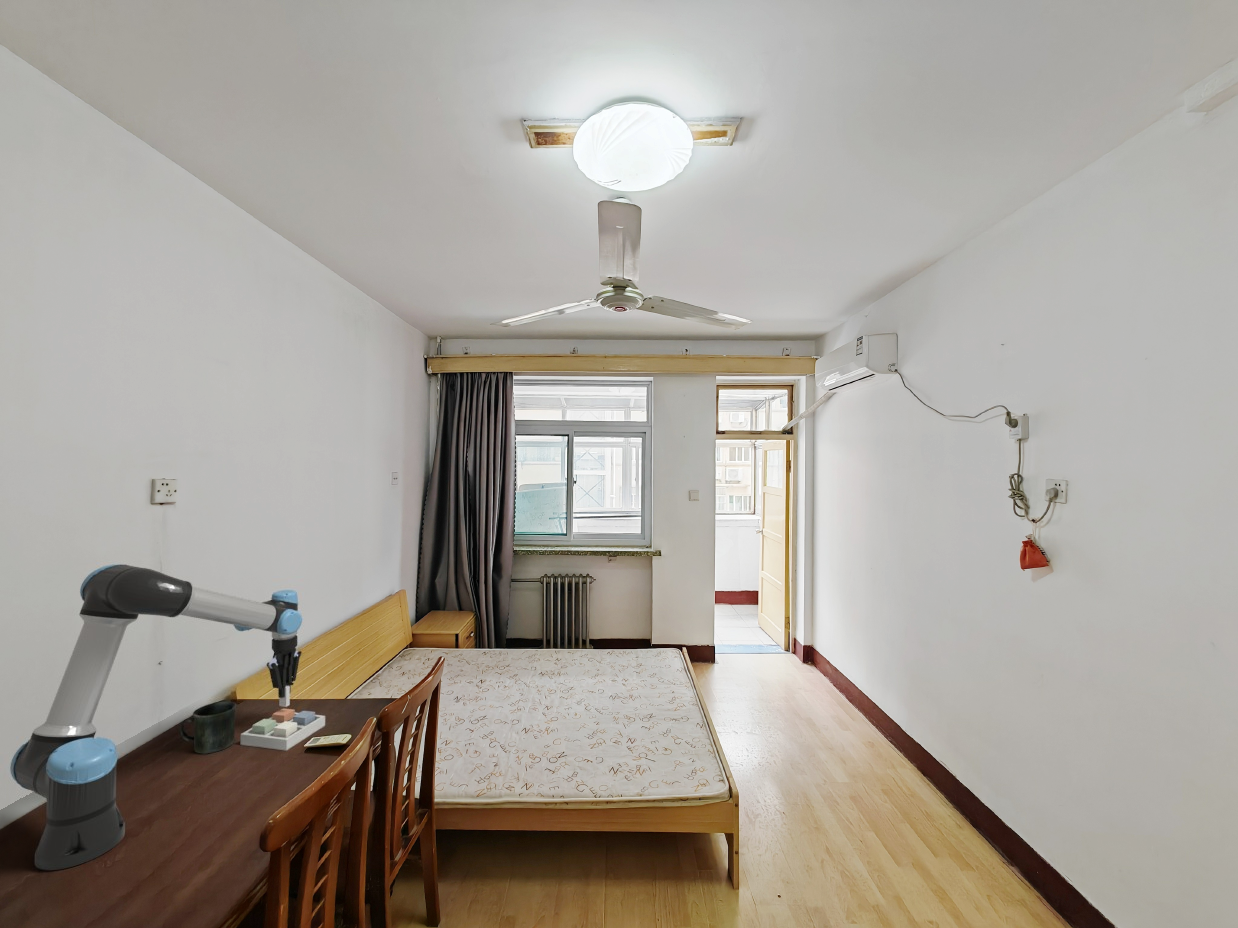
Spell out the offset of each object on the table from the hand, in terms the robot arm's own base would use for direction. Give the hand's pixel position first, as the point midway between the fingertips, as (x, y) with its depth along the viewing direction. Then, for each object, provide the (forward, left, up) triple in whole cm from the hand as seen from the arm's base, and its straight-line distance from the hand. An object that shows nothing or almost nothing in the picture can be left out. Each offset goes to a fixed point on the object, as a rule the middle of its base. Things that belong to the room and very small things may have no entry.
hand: (284, 705), depth 188 cm
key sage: (-8, 0, -5) cm, 10 cm away
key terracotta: (0, 0, -5) cm, 5 cm away
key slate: (0, -8, -5) cm, 9 cm away
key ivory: (-8, -8, -5) cm, 13 cm away
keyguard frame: (-4, -4, -8) cm, 10 cm away
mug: (-16, +13, -8) cm, 22 cm away
